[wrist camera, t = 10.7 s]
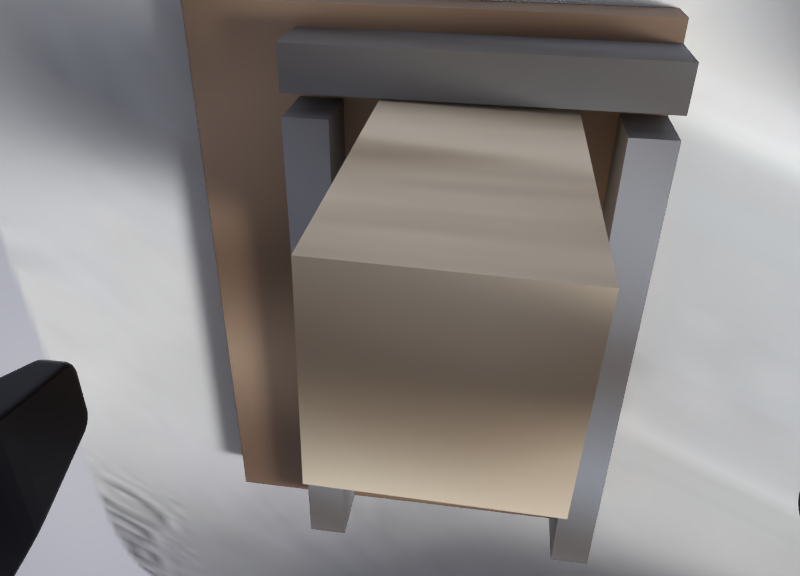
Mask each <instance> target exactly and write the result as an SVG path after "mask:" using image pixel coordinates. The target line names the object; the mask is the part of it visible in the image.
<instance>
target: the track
mask: <svg viewBox="0 0 800 576" xmlns="http://www.w3.org/2000/svg"><path fill="white" fill-rule="evenodd" d="M181 3H182V11H183V18H184V25H185V33H186V40H187V48H188V55H189V62H190V70H191V77H192V85H193V92H194V99H195V107H196V114H197V121H198V129H199V136H200V144H201V151H202V158H203V166H204V173H205V180H206V188H207V195H208V203H209V210H210V217H211V225H212V232H213V239H214V247H215V254H216V262H217V269H218V276H219V284H220V291H221V299H222V306H223V313H224V321H225V328H226V335H227V343H228V350H229V358H230V365H231V372H232V380H233V387H234V394H235V402H236V409H237V417H238V424H239V431H240V439H241V446H242V453H243V461H244V468H245V476H246V482H253V483H261V484H270V485H278V486H286V487H295V488H303V489H309V502H310V516H311V529H317V530H325V531H332V532H340V533H345V529H346V525H347V522H348V518H349V514H350V510H351V506H352V502H353V498H354V495H361V496H370V497H378V498H386V499H395V500H403V501H411V502H420V503H428V504H436V505H445V506H453V507H461V508H470V509H478V510H486V511H495V512H503V513H511V514H520V515H528V516H536V517H545V518H549V528H550V552H551V559H554V560H562V561H570V562H578V563H586V564H587V559H588V555H589V550H590V546H591V541H592V537H593V532H594V528H595V523H596V519H597V515H598V510H599V506H600V501H601V497H602V492H603V488H604V483H605V479H606V474H607V470H608V465H609V461H610V456H611V452H612V448H613V443H614V439H615V434H616V430H617V425H618V421H619V416H620V412H621V407H622V403H623V398H624V394H625V389H626V385H627V381H628V376H629V372H630V367H631V363H632V358H633V354H634V349H635V345H636V340H637V336H638V331H639V327H640V323H641V318H642V314H643V309H644V305H645V300H646V296H647V291H648V287H649V282H650V278H651V273H652V269H653V264H654V260H655V256H656V251H657V247H658V242H659V238H660V233H661V229H662V224H663V220H664V215H665V211H666V206H667V202H668V198H669V193H670V189H671V184H672V180H673V175H674V171H675V166H676V162H677V157H678V153H679V148H680V144H681V140H680V138H679V136H678V134H677V132H676V131H675V129H674V127H673V125H672V123H671V121H670V120H669V118H668V115H682V116H687V113H688V108H689V104H690V99H691V95H692V90H693V86H694V81H695V77H696V73H697V68H698V64H699V62H698V61H697V60H696V59H695V57H694V56H693V55H692V54H691V52H690V51H689V50H688V49H687V48H686V46H685V45H684V44H683V43H684V38H685V33H686V29H687V24H688V19H689V17H688V16H687V15H686V14H685V13H684V12H683V11H682V10H681V9H680V8H659V7H634V6H609V5H584V4H558V3H533V2H508V1H483V0H181ZM380 99H396V100H414V101H432V102H450V103H468V104H485V105H503V106H521V107H539V108H557V109H575V110H580V114H581V118H582V123H583V128H584V132H585V137H586V141H587V146H588V150H589V155H590V159H591V164H592V168H593V173H594V177H595V182H596V186H597V191H598V195H599V200H600V204H601V209H602V213H603V218H604V222H605V227H606V231H607V236H608V241H609V245H610V250H611V254H612V259H613V263H614V268H615V272H616V277H617V281H618V286H619V291H618V295H617V300H616V304H615V309H614V313H613V318H612V322H611V327H610V331H609V335H608V340H607V344H606V349H605V353H604V358H603V362H602V367H601V371H600V375H599V380H598V384H597V389H596V393H595V398H594V402H593V407H592V411H591V416H590V420H589V424H588V429H587V433H586V438H585V442H584V447H583V451H582V456H581V460H580V465H579V469H578V473H577V478H576V482H575V487H574V491H573V496H572V500H571V505H570V509H569V513H568V518H567V519H561V518H554V517H546V516H539V515H532V514H524V513H517V512H509V511H502V510H494V509H487V508H479V507H472V506H464V505H457V504H450V503H442V502H435V501H427V500H420V499H412V498H405V497H397V496H390V495H382V494H375V493H368V492H360V491H353V490H345V489H338V488H330V487H323V486H315V485H308V484H303V477H302V458H301V438H300V419H299V399H298V380H297V360H296V341H295V321H294V302H293V282H292V262H291V255H292V253H293V251H294V249H295V248H296V246H297V244H298V242H299V241H300V239H301V237H302V235H303V234H304V232H305V230H306V228H307V226H308V225H309V223H310V221H311V219H312V218H313V216H314V214H315V212H316V211H317V209H318V207H319V205H320V204H321V202H322V200H323V198H324V197H325V195H326V193H327V191H328V189H329V188H330V186H331V184H332V182H333V181H334V179H335V177H336V175H337V174H338V172H339V170H340V168H341V167H342V165H343V163H344V161H345V159H346V158H347V156H348V154H349V152H350V151H351V149H352V147H353V145H354V144H355V142H356V140H357V138H358V137H359V135H360V133H361V131H362V130H363V128H364V126H365V124H366V122H367V121H368V119H369V117H370V115H371V114H372V112H373V110H374V108H375V107H376V105H377V103H378V101H379V100H380Z"/></svg>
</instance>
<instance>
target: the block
mask: <svg viewBox="0 0 800 576" xmlns="http://www.w3.org/2000/svg"><path fill="white" fill-rule="evenodd" d="M291 262H292V282H293V302H294V321H295V341H296V360H297V380H298V399H299V419H300V438H301V458H302V477H303V484H308V485H315V486H323V487H330V488H338V489H345V490H353V491H360V492H368V493H375V494H382V495H390V496H397V497H405V498H412V499H420V500H427V501H435V502H442V503H450V504H457V505H464V506H472V507H479V508H487V509H494V510H502V511H509V512H517V513H524V514H532V515H539V516H546V517H554V518H561V519H567V518H568V513H569V509H570V505H571V500H572V496H573V491H574V487H575V482H576V478H577V473H578V469H579V465H580V460H581V456H582V451H583V447H584V442H585V438H586V433H587V429H588V424H589V420H590V416H591V411H592V407H593V402H594V398H595V393H596V389H597V384H598V380H599V375H600V371H601V367H602V362H603V358H604V353H605V349H606V344H607V340H608V335H609V331H610V327H611V322H612V318H613V313H614V309H615V304H616V300H617V295H618V291H619V286H618V281H617V277H616V272H615V268H614V263H613V259H612V254H611V250H610V245H609V241H608V236H607V231H606V227H605V222H604V218H603V213H602V209H601V204H600V200H599V195H598V191H597V186H596V182H595V177H594V173H593V168H592V164H591V159H590V155H589V150H588V146H587V141H586V137H585V132H584V128H583V123H582V118H581V114H580V110H575V109H557V108H539V107H521V106H503V105H485V104H468V103H450V102H432V101H414V100H396V99H380V100H379V101H378V103H377V105H376V107H375V108H374V110H373V112H372V114H371V115H370V117H369V119H368V121H367V122H366V124H365V126H364V128H363V130H362V131H361V133H360V135H359V137H358V138H357V140H356V142H355V144H354V145H353V147H352V149H351V151H350V152H349V154H348V156H347V158H346V159H345V161H344V163H343V165H342V167H341V168H340V170H339V172H338V174H337V175H336V177H335V179H334V181H333V182H332V184H331V186H330V188H329V189H328V191H327V193H326V195H325V197H324V198H323V200H322V202H321V204H320V205H319V207H318V209H317V211H316V212H315V214H314V216H313V218H312V219H311V221H310V223H309V225H308V226H307V228H306V230H305V232H304V234H303V235H302V237H301V239H300V241H299V242H298V244H297V246H296V248H295V249H294V251H293V253H292V255H291Z"/></svg>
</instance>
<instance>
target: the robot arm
mask: <svg viewBox="0 0 800 576" xmlns="http://www.w3.org/2000/svg"><path fill="white" fill-rule="evenodd" d="M87 420H88V413H87V408H86V404H85V401H84V397H83V393H82V390H81V386H80V383H79V379H78V375H77V372H76V370H75V368H74V367H73V365H71V364H70V363H68V362H62V361H52V360H37V361H34V362H32V363H30V364H28V365H26V366H24V367H22V368H20V369H17V370H15V371H13V372H11V373H9V374H7V375H5V376H3V377H1V378H0V576H15V574H16V572H17V570H18V569H19V567H20V565H21V564H22V562H23V560H24V558H25V557H26V555H27V553H28V551H29V549H30V548H31V546H32V544H33V542H34V540H35V539H36V537H37V535H38V533H39V531H40V529H41V527H42V525H43V523H44V521H45V519H46V517H47V514H48V512H49V510H50V508H51V505H52V503H53V501H54V499H55V497H56V494H57V492H58V490H59V487H60V485H61V483H62V481H63V479H64V476H65V474H66V472H67V470H68V468H69V465H70V463H71V460H72V459H73V456H74V454H75V452H76V450H77V447H78V446H79V443H80V441H81V439H82V437H83V434H84V432H85V429H86V426H87ZM798 506H799V514H800V493H799V500H798Z"/></svg>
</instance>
